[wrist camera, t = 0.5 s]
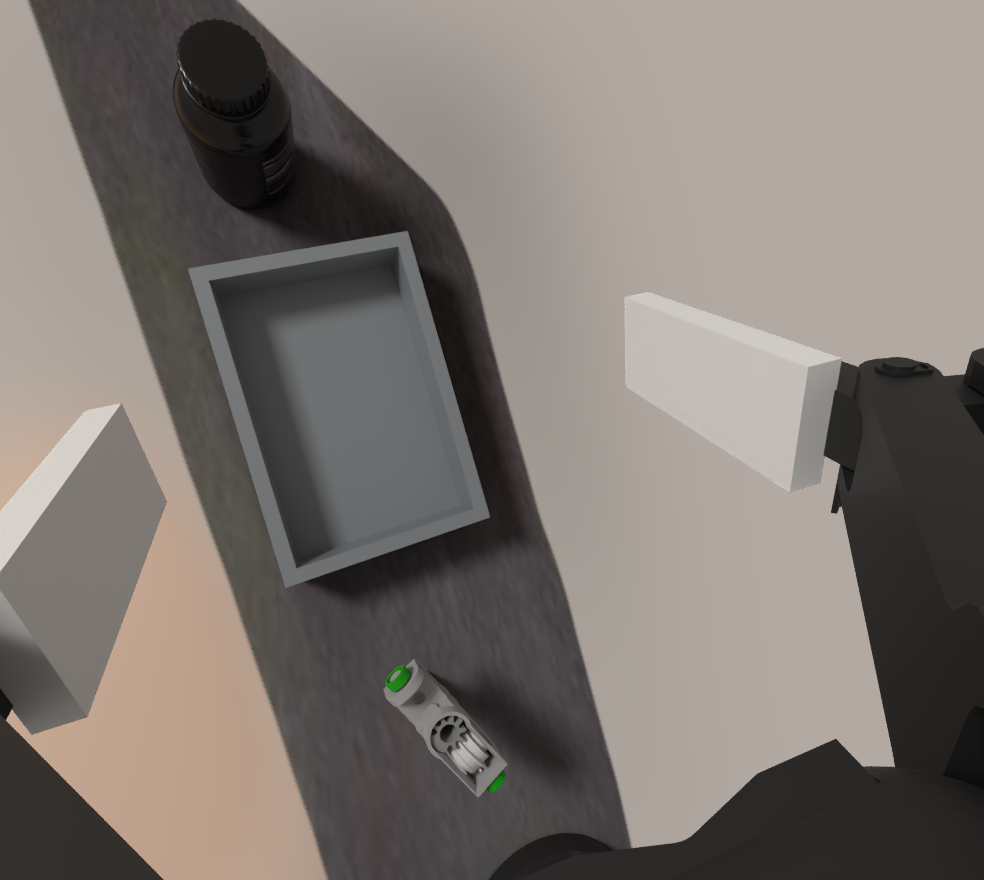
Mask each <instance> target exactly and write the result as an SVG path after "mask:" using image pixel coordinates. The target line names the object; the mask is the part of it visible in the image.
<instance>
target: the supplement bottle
mask: <svg viewBox="0 0 984 880" xmlns="http://www.w3.org/2000/svg"><path fill="white" fill-rule="evenodd" d="M177 48H178V50H177V52H176V55H177V58H178V59H177V64H178V67H179V69H178V70H177V73H176V75H175V78H174V83H173V100H174V104H175V108H176V111H177V114H178V117H179V119H180V122H181V124H182V126H183V129H184V131H185V133H186V136H187V138H188V141H189V143H190V145H191V148H192V150H193V153H194V155H195V157H196V160H197V162H198V164H199V167H200V169H201V171H202V173H203V176H204V178H205V179H206V181H207V183H208V184H209V185H210V187H211V188H212V189H213V190H214V191H215V192H216V193H217V194H218V195H219V196H221V197H222V198H223V199H225V200H226V201H228V202H230V203H232V204H235V205H237V206H240V207H245V208H264V207H268V206H271V205H274V204H276V203H277V202H279V201H281V200H282V199H283V198H284V197H285V196H286V195H287V194H288V193H289V191H290V190H291V188H292V186H293V184H294V181H295V177H296V156H295V145H294V135H293V125H292V114H291V106H290V100H289V96H288V93H287V90H286V88H285V86H284V84H283V82H282V80H281V79H280V77H279V76H278V74H277V73H276V72H275V71H274V69H273V68H272V67H271V66H270V65H269V64H268V61H267V59H266V56H265V52H264V51H263V49H262V48H261V45H260V43H258V42H257V41H256V39H255V37H254V36H252V35H250V33H249V32H248V31H247V30H244V29H243V28H242V27H241V26H239V25H235V24H234V23H232V22H226V21H225V20H216V19H212V20H204V21H202V22H197V23H196V24H195V25H191V26H190V27H189V28H188V30H185V31H184V34H183V35H182V36H181V37H180V42H179V43H178V44H177Z"/></svg>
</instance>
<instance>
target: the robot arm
mask: <svg viewBox="0 0 984 880" xmlns="http://www.w3.org/2000/svg"><path fill="white" fill-rule="evenodd" d="M625 369H626V370H625V374H626V376H625V377H626V387H627V388H628V389H630V390H632V391H633V392H635V393H636V394H638V395H639V396H641V397H642V398H644V399H645V400H647V401H649V402H650V403H652V404H653V405H655V406H656V407H658V408H660V409H661V410H662V411H664V412H666V413H667V414H669V415H670V416H672V417H673V418H675V419H676V420H678V421H680V422H681V423H683V424H684V425H686V426H687V427H689V428H690V429H692V430H694V431H695V432H697V433H698V434H700V435H701V436H703V437H704V438H706V439H707V440H709V441H710V442H712V443H714V444H715V445H717V446H718V447H720V448H721V449H723V450H724V451H726V452H727V453H729V454H731V455H732V456H734V457H735V458H737V459H739V460H740V461H741V462H743V463H745V464H746V465H748V466H749V467H751V468H752V469H754V470H755V471H757V472H758V473H760V474H762V475H763V476H765V477H766V478H768V479H769V480H771V481H772V482H774V483H775V484H777V485H779V486H780V487H782V488H783V489H785V490H786V491H788V492H794V491H797V490H800V489H803V488H806V487H809V486H812V485H815V484H818V483H820V481H821V475H822V469H823V464H824V458H825V456H826V457H828V458H830V459H831V460H833V461H835V462H837V463H839V464H840V468H839V473H838V479H837V484H836V489H835V495H834V500H833V505H832V510H831V513H837V512H838V509H839V507H841V506H842V509H843V514H844V519H845V523H846V529H847V533H848V538H849V543H850V548H851V553H852V558H853V563H854V567H855V572H856V577H857V582H858V587H859V592H860V597H861V601H862V606H863V611H864V616H865V621H866V626H867V630H868V635H869V640H870V645H871V650H872V655H873V659H874V664H875V669H876V674H877V679H878V684H879V689H880V693H881V698H882V703H883V708H884V713H885V718H886V723H887V728H888V732H889V737H890V741H891V747H892V752H893V757H894V764H895V767H872V766H870V767H863V766H862V765H861V764H860V763H859V762H858V761H857V760H856V759H855V758H854V757H853V756H852V755H851V754H850V753H849V752H848V751H847V750H846V749H845V748H844V747H843V746H842V745H841V744H840V743H839V742H838V741H837V739H834V740H832V741H830V742H828V743H825V744H823V745H821V746H819V747H816V748H814V749H812V750H810V751H808V752H805V753H803V754H801V755H798V756H796V757H794V758H792V759H789V760H787V761H785V762H783V763H780V764H778V765H776V766H774V767H771V768H769V769H767V770H765V771H762V772H760V773H758V774H757V775H755V777H753V778H752V779H751V780H750V781H749V782H748V783H747V784H746V785H745V786H744V787H743V788H742V789H741V790H740V791H739V792H738V793H737V794H735V796H733V797H732V798H731V799H730V800H729V801H728V802H727V803H726V804H725V805H724V806H723V807H722V808H721V809H720V810H719V811H718V812H717V813H716V814H714V816H713V817H711V818H710V819H709V820H708V821H707V822H706V823H705V824H704V825H703V826H702V827H701V828H700V829H699V830H698V831H697V832H696V833H694V834H693V835H692V836H691V837H690V838H688V839H686V840H684V841H681V842H678V843H672V844H664V845H655V846H647V847H639V848H631V849H623V850H615V851H610V850H609V849H608V848H606V847H605V846H604V845H602V844H601V843H599V842H598V841H596V840H594V839H591V838H589V837H586V836H582V835H577V834H557V835H552V836H547V837H544V838H541V839H538V840H536V841H534V842H532V843H530V844H528V845H526V846H524V847H523V848H521V849H520V850H518V851H517V852H515V853H514V854H513V855H512V856H510V857H509V858H508V859H507V860H506V861H505V862H504V863H503V864H502V865H501V866H500V867H499V868H498V869H497V870H496V871H495V873H494V874H493V875H492V876H491V878H490V879H489V880H984V348H981V349H978V350H975V351H973V352H972V354H971V356H970V359H969V363H968V366H967V370H966V373H965V374H964V375H953V376H943V375H942V373H941V372H940V371H939V370H938V369H936V368H935V367H934V366H931V365H930V364H928V363H923V362H918V361H914V360H912V359H908V358H900V357H892V358H883V359H874V360H869V361H866V362H864V363H862V364H860V365H859V367H856V366H854V365H850V364H848V363H845V362H842V358H840V357H837V356H834V355H831V354H828V353H825V352H822V351H819V350H816V349H814V348H810V347H808V346H805V345H802V344H799V343H796V342H793V341H790V340H787V339H784V338H781V337H778V336H775V335H772V334H770V333H767V332H764V331H761V330H758V329H755V328H752V327H749V326H746V325H743V324H740V323H737V322H734V321H732V320H729V319H726V318H723V317H720V316H717V315H714V314H711V313H708V312H705V311H702V310H699V309H696V308H694V307H691V306H688V305H684V304H682V303H679V302H676V301H673V300H670V299H667V298H664V297H661V296H658V295H655V294H653V293H649V292H647V293H642V294H637V295H632V296H628V297H625ZM166 502H167V501H166V498H165V496H164V494H163V492H162V490H161V488H160V486H159V483H158V481H157V479H156V477H155V475H154V473H153V470H152V468H151V466H150V464H149V462H148V460H147V457H146V455H145V453H144V451H143V449H142V447H141V444H140V442H139V440H138V438H137V436H136V434H135V432H134V429H133V427H132V425H131V423H130V421H129V418H128V416H127V414H126V412H125V410H124V408H123V406H122V403H120V404H116V405H111V406H107V407H101V408H97V409H92V410H87V411H85V412H84V413H83V414H82V415H81V417H80V418H79V419H78V420H77V421H76V422H75V423H74V425H73V426H72V427H71V428H70V429H69V431H68V432H67V433H66V434H65V435H64V436H63V438H62V439H61V440H60V441H59V443H58V444H57V445H56V446H55V447H54V449H53V450H52V451H51V452H50V453H49V454H48V456H47V457H46V458H45V459H44V460H43V461H42V463H41V464H40V465H39V466H38V467H37V468H36V470H35V471H34V472H33V473H32V474H31V476H30V477H29V478H28V479H27V480H26V482H25V483H24V484H23V485H22V486H21V487H20V489H19V490H18V491H17V492H16V493H15V494H14V496H13V497H12V498H11V499H10V500H9V502H8V503H7V504H6V505H5V506H4V507H3V509H2V510H1V511H0V880H163V879H162V878H161V877H160V876H159V875H158V874H157V873H156V872H155V871H154V870H153V869H152V868H151V867H150V866H149V865H148V864H147V863H146V862H145V861H144V859H143V858H141V856H139V855H138V853H137V852H136V851H135V850H134V849H133V848H132V847H131V846H130V845H129V844H127V842H126V841H125V840H124V839H123V838H122V837H121V836H120V835H119V834H118V833H117V832H116V831H115V830H114V829H113V828H112V827H111V826H110V825H109V824H108V823H107V822H106V821H104V819H103V818H102V817H101V816H100V815H99V814H98V813H97V812H96V811H95V810H94V809H93V808H92V807H91V806H90V805H89V804H88V803H87V802H86V801H85V800H84V799H83V798H82V797H81V796H80V795H79V794H78V793H77V792H76V791H75V790H74V789H73V788H72V787H71V786H70V785H69V784H68V783H67V782H66V781H65V780H64V779H63V778H62V777H61V776H60V775H59V774H58V773H57V772H56V771H55V770H54V769H53V768H52V767H51V766H50V765H49V764H48V763H47V762H46V761H45V760H44V759H43V758H42V757H41V756H40V755H39V754H38V753H37V752H36V751H35V750H34V749H33V748H32V747H31V746H30V744H28V743H27V741H26V740H25V739H24V738H23V737H22V736H20V734H19V733H18V732H16V730H15V729H13V728H12V727H11V726H10V724H9V723H8V722H7V721H6V719H7V717H8V715H9V713H10V711H11V709H12V710H13V711H14V713H15V714H16V715H17V716H18V718H19V719H20V720H21V721H22V723H23V724H24V725H25V727H26V728H27V729H28V730H29V732H30V733H31V734H32V735H33V734H35V733H39V732H42V731H45V730H48V729H51V728H54V727H58V726H61V725H64V724H67V723H70V722H73V721H76V720H79V719H83V718H86V717H87V716H88V714H89V711H90V708H91V706H92V703H93V700H94V697H95V695H96V692H97V689H98V687H99V684H100V681H101V678H102V676H103V673H104V670H105V668H106V665H107V662H108V659H109V657H110V654H111V651H112V649H113V646H114V643H115V640H116V638H117V635H118V632H119V630H120V627H121V624H122V622H123V619H124V616H125V613H126V611H127V608H128V605H129V603H130V600H131V597H132V595H133V592H134V589H135V586H136V584H137V581H138V578H139V576H140V573H141V570H142V567H143V565H144V562H145V559H146V557H147V554H148V551H149V548H150V546H151V543H152V540H153V538H154V535H155V532H156V529H157V527H158V524H159V521H160V519H161V516H162V513H163V511H164V508H165V505H166Z"/></svg>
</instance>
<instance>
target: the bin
mask: <svg viewBox="0 0 984 880" xmlns="http://www.w3.org/2000/svg"><path fill="white" fill-rule="evenodd" d="M188 270H189V274H190V277H191V280H192V283H193V287H194V290H195V293H196V296H197V300H198V303H199V306H200V309H201V313H202V316H203V319H204V323H205V326H206V329H207V332H208V336H209V339H210V342H211V345H212V349H213V352H214V355H215V359H216V362H217V365H218V368H219V372H220V375H221V378H222V381H223V385H224V388H225V391H226V395H227V398H228V401H229V404H230V408H231V411H232V414H233V417H234V421H235V424H236V427H237V431H238V434H239V437H240V440H241V444H242V447H243V450H244V453H245V457H246V460H247V463H248V467H249V470H250V473H251V476H252V480H253V483H254V486H255V489H256V493H257V496H258V499H259V503H260V506H261V509H262V512H263V516H264V519H265V522H266V525H267V529H268V532H269V535H270V538H271V542H272V545H273V548H274V552H275V555H276V558H277V561H278V565H279V568H280V571H281V574H282V578H283V581H284V584H285V588H287V587H290V586H292V585H295V584H298V583H301V582H304V581H307V580H310V579H313V578H316V577H319V576H321V575H324V574H327V573H330V572H333V571H336V570H339V569H342V568H345V567H348V566H351V565H353V564H356V563H359V562H362V561H365V560H368V559H371V558H374V557H377V556H380V555H382V554H385V553H388V552H391V551H394V550H397V549H400V548H403V547H406V546H409V545H411V544H414V543H417V542H420V541H423V540H426V539H429V538H432V537H435V536H438V535H440V534H443V533H446V532H449V531H452V530H455V529H458V528H461V527H464V526H467V525H469V524H472V523H475V522H478V521H481V520H484V519H487V518H490V515H489V511H488V508H487V504H486V501H485V497H484V494H483V491H482V487H481V484H480V480H479V477H478V473H477V470H476V466H475V463H474V459H473V456H472V452H471V449H470V445H469V442H468V438H467V435H466V432H465V428H464V425H463V421H462V418H461V414H460V411H459V407H458V404H457V400H456V397H455V393H454V390H453V386H452V383H451V379H450V376H449V373H448V369H447V366H446V362H445V359H444V355H443V352H442V348H441V345H440V341H439V338H438V334H437V331H436V327H435V324H434V321H433V317H432V314H431V310H430V307H429V303H428V300H427V296H426V293H425V289H424V286H423V282H422V279H421V275H420V272H419V268H418V265H417V262H416V258H415V255H414V251H413V248H412V244H411V241H410V237H409V234H408V231H404V232H398V233H393V234H387V235H381V236H375V237H369V238H364V239H358V240H352V241H346V242H340V243H334V244H329V245H323V246H317V247H311V248H305V249H300V250H294V251H288V252H282V253H276V254H271V255H265V256H259V257H253V258H247V259H241V260H236V261H230V262H224V263H218V264H212V265H207V266H201V267H195V268H189V269H188Z"/></svg>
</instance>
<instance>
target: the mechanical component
mask: <svg viewBox="0 0 984 880" xmlns="http://www.w3.org/2000/svg"><path fill="white" fill-rule="evenodd" d="M385 685H386V687H385V688H384V692H385V696H386V699H387V700H388V701H389V702H390V703H391V704H392V705H393V706H396V707H397V708H398V709H399V710H400V711H401V712H402V713H403V714H404V715H405V716H406V717H407V718H408V719H409V720H410V721H411V722H412V723H413V724H414V725H415V727H416V729H417V731H418V732H419V733H420V734H421V735H422V736H423V737H424V739H425V741H426V744H427V746H428V749H429V751H430V752H431V753H432V754H433V755H434V756H435V757H436V758H439V759H441V760H442V761H443V762H444V763H445V764H446V765H447V766H448V767H449V768H450V769H451V770H452V771H453V772H454V773H455V774H456V775H457V776H458V777H459V779H460V780H461V781H462V782H463V783H464V784H465V785H466V786H467V787H468V788H469V789H470V790H471V791H472V792H473V793H474V794H475V795H476V796H477V797H479V796H480V795H481V794H482V793H483V792H484V791H485V789H487V790H488V791H489V792H491V793H492V792H495V791H496V790H498V789H499V788H500V787H501V785H502V784H503V782H504V780H505V771H504V770H503V769H504V768H505V767H506V766H507V765H508V764H507V763H506V761H505V759H504V758H503V756H502V755H501V753H500V752H499V751H498V749H497V748H496V746H495V745H494V743H493V742H492V740H491V739H490V738H489V737H488V735H487V734H486V733H485V732H484V731H483V730H482V728H481V727H480V726H479V725H478V724H477V723H476V722H475V721H474V720H473V719H472V718H471V717H470V716H469V715H468V714H467V712H466V711H465V710H464V709H463V708H462V707H461V706H460V705H459V703H458V702H457V700H456V699H455V698H454V697H453V696H451V695H450V693H449V692H448V690H447V689H446V688H445V687H444V686H442V685H440V684H439V683H438V682H437V681H436V680H435V679H434V678H433V677H432V675H431V674H430V673H429V672H428V671H427V670H426V669H425V668H424V667H423V666H422V665H421V664H420V663H419V662H418V661H417V660H416V659H413V660H412V661H411V662H410V663H409V664H408V665H407V666H406V667H405V666H404V665H399V666H398V667H396V668H395V669H394V670H393V671H392V672H391V673H390V674H389V676H388V677H387V679H386V681H385ZM449 757H450V758H451V759H452V760H451V759H450V758H449ZM453 762H454V763H455V764H456V765H457V766H456V765H455V764H454V763H453Z"/></svg>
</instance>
